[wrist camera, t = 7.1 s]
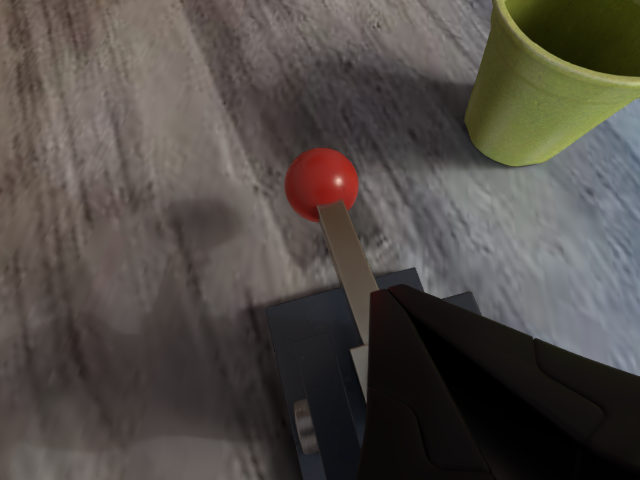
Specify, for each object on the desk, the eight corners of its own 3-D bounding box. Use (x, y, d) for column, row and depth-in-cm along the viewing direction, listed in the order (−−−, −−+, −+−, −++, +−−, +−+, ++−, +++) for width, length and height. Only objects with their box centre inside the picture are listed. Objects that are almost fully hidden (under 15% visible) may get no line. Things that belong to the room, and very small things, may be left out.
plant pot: (409, 143, 23) (455, 17, 15) (476, 49, 26) (547, -103, 17) (551, 221, 21) (694, 123, 13) (609, 110, 24) (758, -29, 15)
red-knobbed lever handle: (284, 194, 18) (272, 142, 15) (347, 178, 18) (344, 124, 16) (361, 473, 11) (362, 464, 8) (461, 442, 11) (491, 423, 9)
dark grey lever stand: (268, 311, 19) (216, 256, 10) (410, 272, 20) (481, 187, 11) (317, 531, 16) (305, 740, 7) (485, 476, 17) (680, 602, 8)
